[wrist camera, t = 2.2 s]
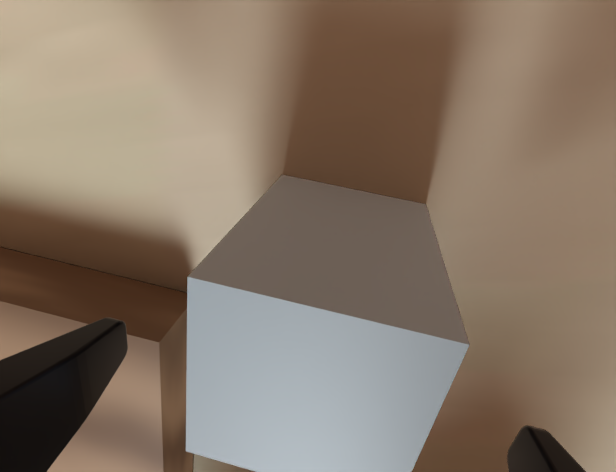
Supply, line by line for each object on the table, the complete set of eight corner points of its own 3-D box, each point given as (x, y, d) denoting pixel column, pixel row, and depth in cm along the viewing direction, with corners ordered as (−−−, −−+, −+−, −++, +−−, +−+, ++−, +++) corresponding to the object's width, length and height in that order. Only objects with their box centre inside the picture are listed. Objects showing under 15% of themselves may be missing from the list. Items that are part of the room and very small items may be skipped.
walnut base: (192, 477, 21) (165, 536, 19) (-6, 418, 23) (-58, 465, 20) (197, 295, 16) (159, 342, 13) (-68, 230, 17) (-153, 261, 14)
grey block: (389, 320, 15) (393, 511, 8) (267, 291, 15) (185, 451, 9) (425, 203, 12) (469, 344, 6) (282, 174, 13) (187, 277, 7)
